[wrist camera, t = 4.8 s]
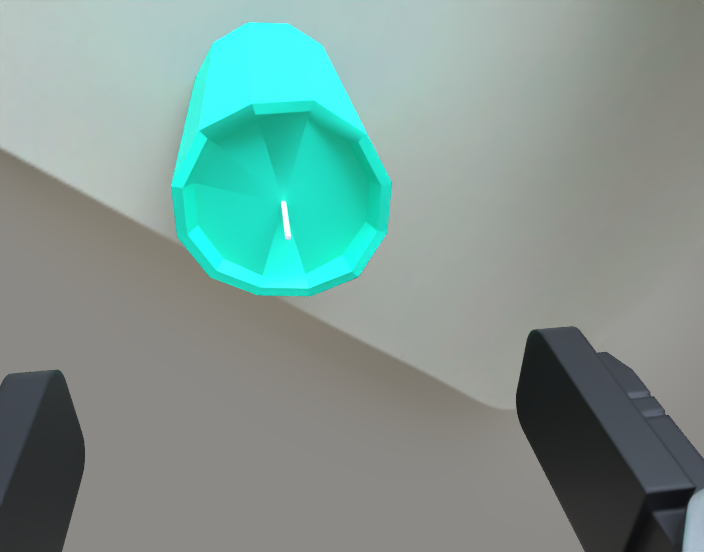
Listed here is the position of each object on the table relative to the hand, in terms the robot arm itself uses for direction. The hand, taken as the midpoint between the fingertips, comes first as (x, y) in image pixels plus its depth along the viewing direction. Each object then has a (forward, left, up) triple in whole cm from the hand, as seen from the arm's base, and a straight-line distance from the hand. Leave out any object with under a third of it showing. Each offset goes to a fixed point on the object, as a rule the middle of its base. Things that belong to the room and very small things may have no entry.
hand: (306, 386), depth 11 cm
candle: (0, 0, -18) cm, 18 cm away
